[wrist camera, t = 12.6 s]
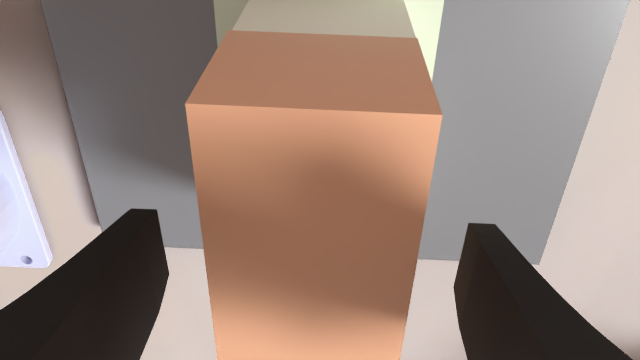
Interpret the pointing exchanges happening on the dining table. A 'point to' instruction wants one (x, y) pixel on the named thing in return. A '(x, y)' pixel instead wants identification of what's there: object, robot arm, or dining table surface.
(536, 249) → the baseplate
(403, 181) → the terracotta brick
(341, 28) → the cream brick
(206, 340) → the dining table surface
